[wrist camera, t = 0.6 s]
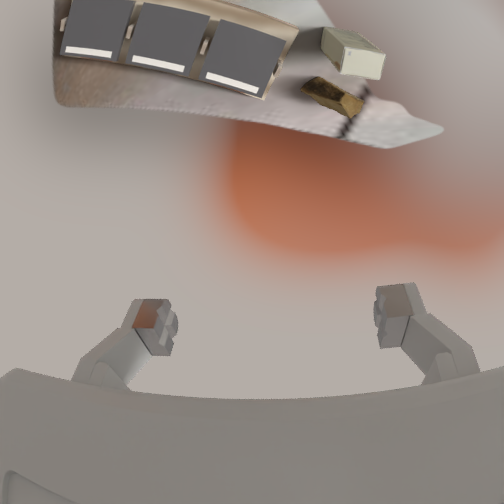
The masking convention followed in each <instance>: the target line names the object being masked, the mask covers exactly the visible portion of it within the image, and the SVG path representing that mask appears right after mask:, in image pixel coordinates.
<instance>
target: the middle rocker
mask: <svg viewBox="0 0 504 504" xmlns="http://www.w3.org/2000/svg"><path fill="white" fill-rule="evenodd" d="M210 17H211V16H208V15H204V14H200V13H196V12H192V11H188V10H183V9H178V8H174V7H169V6H163V5H158V4H152V3H146V2H144V3H143V6H142V8H141V11H140V14H139V17H138V20H137V24H136V27H135V30H134V33H133V36H132V40H131V43H130V47H129V50H128V54H127V58H126V61H125V63H126V64H132V65H137V66H142V67H147V68H152V69H157V70H162V71H166V72H170V73H175V74H179V75H183V76H187V77H188V76H189V74H190V71H191V68H192V65H193V62H194V60H195V57H196V54H197V51H198V48H199V46H200V43H201V40H202V38H203V35H204V32H205V30H206V27H207V25H208V22H209V19H210Z"/></svg>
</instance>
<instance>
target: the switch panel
mask: <svg viewBox="0 0 504 504" xmlns="http://www.w3.org/2000/svg"><path fill="white" fill-rule="evenodd" d="M72 1H73V0H72ZM132 1H136V3H135V6H134V9H133V12H132V15H131V18H130V21H129V24H128V28H127V31H126V34H125V38H124V41H123V45H122V48H121V52H120V56H119V60H118V61H116V62H114V61H108V60H101V59H94V58H86V57H78V56H68V55H64V56H68V57H77V58H85V59H93V60H100V61H107V62H114V63H120V64H125V65H131V66H136V67H142V66H137V65H132V64H126V63H125V61H126V58H127V54H128V50H129V47H130V43H131V40H132V36H133V33H134V30H135V27H136V24H137V20H138V17H139V14H140V11H141V8H142V6H143V3H144V2H146V3H152V4H158V5H163V6H169V7H174V8H178V9H183V10H188V11H192V12H196V13H200V14H204V15H208V16H211V17H210V19H209V22H208V25H207V27H206V30H205V32H204V35H203V38H202V40H201V43H200V46H199V48H198V51H197V54H196V57H195V60H194V62H193V65H192V68H191V71H190V74H189V76H188V77H187V76H183V75H179V74H175V73H170V72H166V71H162V70H157V69H152V68H147V67H142V68H147V69H152V70H156V71H161V72H165V73H170V74H174V75H178V76H182V77H186V78H190V79H194V80H198V81H202V80H199V79H198V78H199V75H200V72H201V69H202V66H203V64H204V61H205V58H206V55H207V53H208V50H209V47H210V45H211V42H212V39H213V37H214V34H215V32H216V29H217V27H218V24H219V22H220V19H223V20H226V21H230V22H233V23H236V24H240V25H243V26H246V27H249V28H252V29H255V30H258V31H261V32H264V33H266V34H269V35H272V36H275V37H277V38H280V39H283V40H285V41H286V44H285V46H284V48H283V50H282V53H281V55H280V57H279V59H278V62H277V64H276V66H275V68H274V71H273V73H272V75H271V78H270V80H269V82H268V84H267V87H266V89H265V91H264V94H263V96H262V98H259V97H256V96H253V95H250V94H246V93H243V92H240V91H237V90H234V89H230V88H227V87H224V86H220V85H217V84H213V83H210V82H206V81H202V82H206V83H209V84H213V85H216V86H220V87H223V88H227V89H230V90H233V91H237V92H240V93H243V94H246V95H249V96H252V97H255V98H258V99H261V100H264V99H265V97H266V95H267V93H268V91H269V89H270V87H271V85H272V83H273V81H274V79H275V77H276V78H278V76H279V74H280V72H281V70H282V68H283V66H282V63H283V61H284V59H285V57H286V55H287V53H288V51H289V49H290V47H291V45H292V43H293V42H294V40H295V38H296V36H297V34H298V32H299V29H298V28H297V26H295V25H292V24H290V23H287V22H284V21H282V20H279V19H277V18H274V17H271V16H268V15H266V14H263V13H260V12H257V11H254V10H251V9H248V8H245V7H242V6H238V5H235V4H232V3H228V2H225V1H221V0H132ZM71 5H72V3H71ZM67 19H68V17H66V18H64V19H62V20H61V26H60V31H64V30H65V27H66V23H67Z"/></svg>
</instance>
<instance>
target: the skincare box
mask: <svg viewBox="0 0 504 504" xmlns="http://www.w3.org/2000/svg"><path fill="white" fill-rule="evenodd" d="M321 50H322V51H323V52H324V53H325V55H326V56H327V57H328V58H329V60H330V61H331V62H332V64H333V65H334V66H335V67H336V69H337V70H338V71H339V73H340V74H343V75H349V76H355V77H361V78H368V79H375V80H380V77H381V74H382V70H383V67H384V63H385V60H386V54H384V53H383V52H382V51H381V50H380V49H378V48H377V47H376V46H375V45H373V44H372V43H371V42H370V41H368V40H367V39H366V38H364V37H363V36H362V35H361V34H359V33H358V32H354V31H349V30H343V29H337V28H329V27H324V28H323V34H322V40H321Z"/></svg>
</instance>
